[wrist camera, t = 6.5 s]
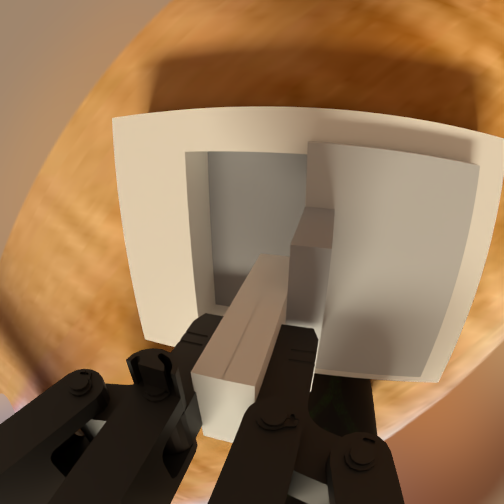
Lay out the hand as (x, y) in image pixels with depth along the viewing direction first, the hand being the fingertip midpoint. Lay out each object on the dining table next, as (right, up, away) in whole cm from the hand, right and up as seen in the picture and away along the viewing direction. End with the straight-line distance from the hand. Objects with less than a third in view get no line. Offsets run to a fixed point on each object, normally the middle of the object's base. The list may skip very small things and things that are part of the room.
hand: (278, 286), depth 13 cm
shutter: (+5, 0, +1) cm, 5 cm away
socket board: (+2, +2, +5) cm, 6 cm away
